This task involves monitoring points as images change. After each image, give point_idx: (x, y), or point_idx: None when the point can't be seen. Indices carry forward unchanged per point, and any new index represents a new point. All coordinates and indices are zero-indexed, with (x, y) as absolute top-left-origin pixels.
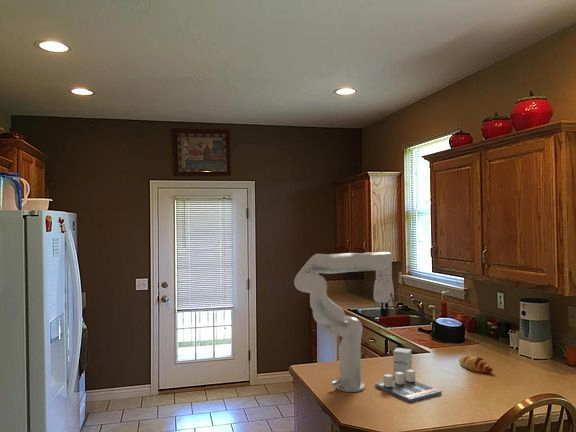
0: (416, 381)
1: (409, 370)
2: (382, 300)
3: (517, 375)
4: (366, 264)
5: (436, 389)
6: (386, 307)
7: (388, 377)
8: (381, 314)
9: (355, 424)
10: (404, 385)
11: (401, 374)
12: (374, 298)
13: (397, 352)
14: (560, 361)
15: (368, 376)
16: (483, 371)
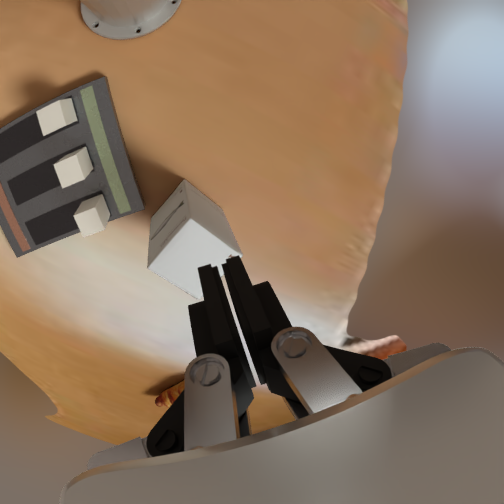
0: None
1: (91, 220)
2: (173, 501)
3: (144, 416)
4: None
5: (26, 250)
6: (180, 400)
7: (38, 114)
8: (229, 273)
9: None
10: None
11: (58, 175)
12: (482, 379)
13: (176, 230)
14: None
15: (223, 96)
16: (165, 390)
